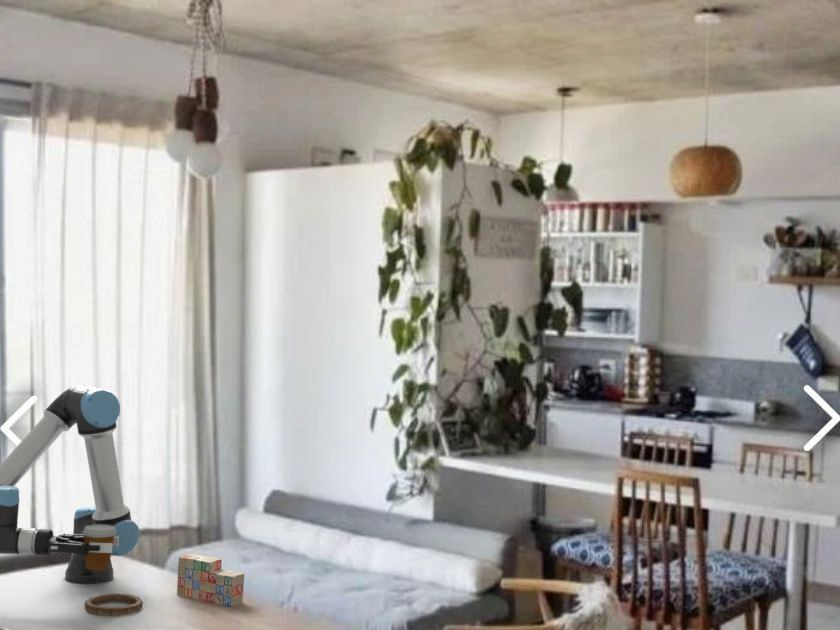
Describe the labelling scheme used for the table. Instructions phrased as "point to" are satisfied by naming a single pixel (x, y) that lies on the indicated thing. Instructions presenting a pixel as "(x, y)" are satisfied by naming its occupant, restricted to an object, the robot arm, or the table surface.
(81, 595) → the table surface
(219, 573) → the stack of blocks
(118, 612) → the walnut bead ring
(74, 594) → the table surface
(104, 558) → the disposable coffee cup
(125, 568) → the table surface
